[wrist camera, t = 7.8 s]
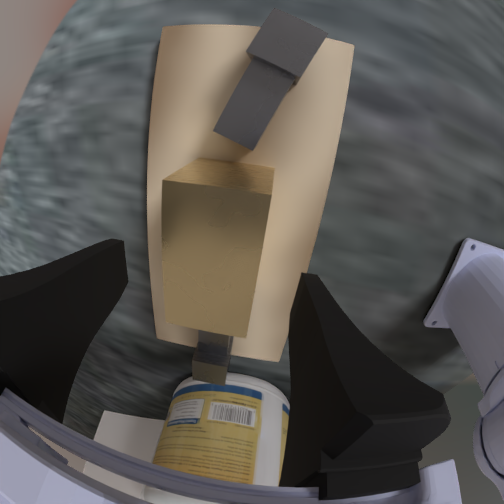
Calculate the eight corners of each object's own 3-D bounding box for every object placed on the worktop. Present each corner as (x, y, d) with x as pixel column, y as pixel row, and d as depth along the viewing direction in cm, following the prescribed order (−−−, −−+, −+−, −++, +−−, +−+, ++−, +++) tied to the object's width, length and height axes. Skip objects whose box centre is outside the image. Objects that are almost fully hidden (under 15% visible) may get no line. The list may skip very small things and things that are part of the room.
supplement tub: (159, 392, 27) (116, 520, 12) (215, 347, 22) (166, 545, 7) (244, 431, 30) (227, 546, 15) (316, 398, 25) (316, 553, 10)
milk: (164, 420, 31) (119, 575, 8) (197, 450, 36) (169, 576, 13) (104, 410, 34) (54, 536, 11) (140, 441, 39) (106, 551, 16)
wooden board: (349, 49, 11) (354, 45, 10) (279, 352, 22) (278, 361, 21) (169, 30, 11) (163, 26, 10) (160, 330, 22) (156, 338, 21)
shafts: (320, 36, 10) (330, 17, 7) (256, 360, 21) (252, 390, 18) (232, 24, 10) (220, 4, 8) (201, 350, 21) (192, 379, 18)
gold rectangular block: (274, 167, 14) (271, 195, 9) (255, 280, 17) (246, 338, 13) (199, 157, 14) (162, 180, 9) (192, 269, 17) (165, 322, 13)
